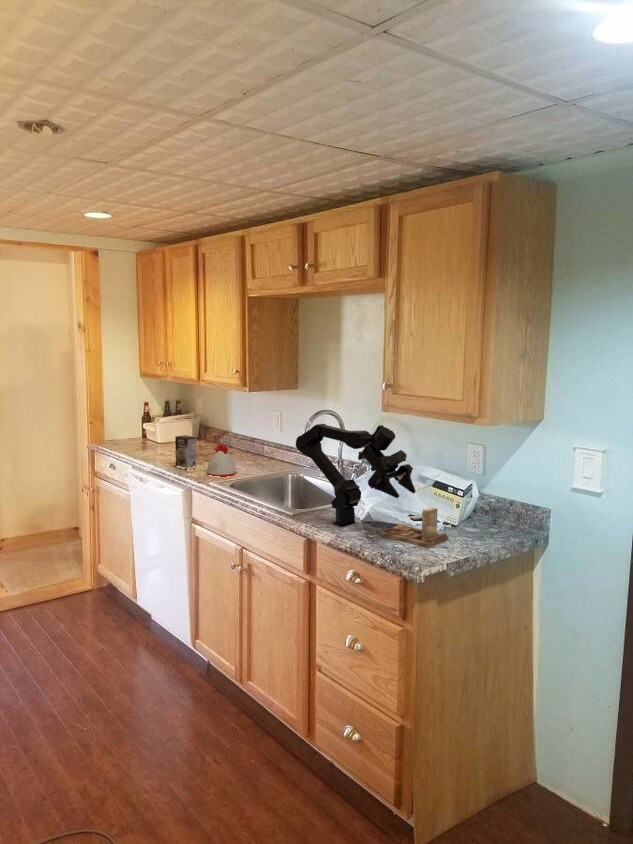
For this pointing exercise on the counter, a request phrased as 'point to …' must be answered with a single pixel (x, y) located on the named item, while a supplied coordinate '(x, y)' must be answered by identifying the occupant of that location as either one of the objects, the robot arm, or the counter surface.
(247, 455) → the counter surface
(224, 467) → the grey pompom beanie
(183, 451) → the coffee box
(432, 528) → the tan wooden block
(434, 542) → the rack
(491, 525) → the counter surface
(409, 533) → the oak offcut lower
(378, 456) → the robot arm
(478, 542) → the counter surface
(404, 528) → the oak offcut upper
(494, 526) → the counter surface
